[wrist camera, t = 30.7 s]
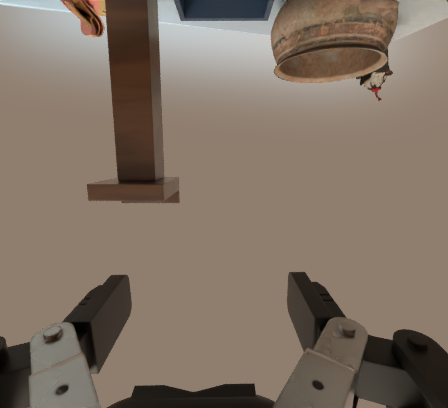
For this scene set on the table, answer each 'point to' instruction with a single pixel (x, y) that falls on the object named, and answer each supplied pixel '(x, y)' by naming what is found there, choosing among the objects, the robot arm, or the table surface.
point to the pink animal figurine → (88, 15)
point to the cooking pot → (332, 38)
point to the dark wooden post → (136, 107)
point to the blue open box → (224, 10)
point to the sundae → (376, 77)
